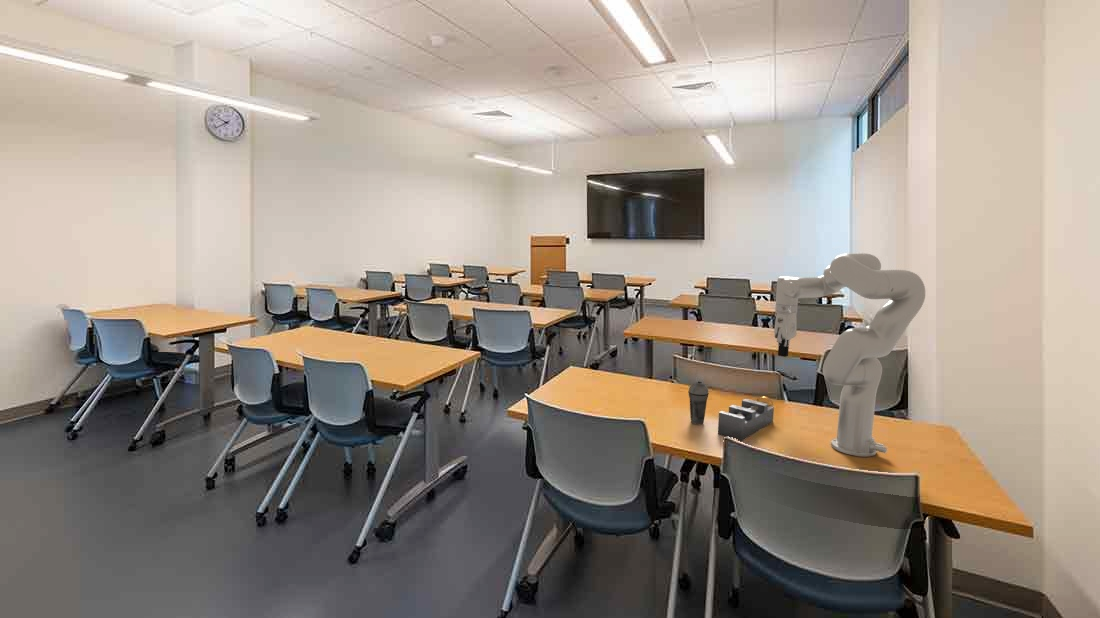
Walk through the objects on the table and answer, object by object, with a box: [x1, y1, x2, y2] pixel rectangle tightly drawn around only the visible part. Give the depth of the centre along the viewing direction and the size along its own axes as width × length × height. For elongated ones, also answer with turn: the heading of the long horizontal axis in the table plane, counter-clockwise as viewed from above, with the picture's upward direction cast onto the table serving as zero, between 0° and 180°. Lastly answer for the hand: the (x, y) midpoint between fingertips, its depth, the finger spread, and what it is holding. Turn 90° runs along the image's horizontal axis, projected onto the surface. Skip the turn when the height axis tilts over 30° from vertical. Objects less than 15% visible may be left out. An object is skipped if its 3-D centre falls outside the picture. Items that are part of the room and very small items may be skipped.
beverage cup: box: [688, 370, 710, 426], centre depth 181 cm, size 7×7×20 cm
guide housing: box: [717, 398, 775, 442], centre depth 177 cm, size 8×26×8 cm, turn 134°
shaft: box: [736, 395, 774, 417], centre depth 179 cm, size 6×25×6 cm, turn 134°
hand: (782, 355), depth 189 cm, fingers closed
